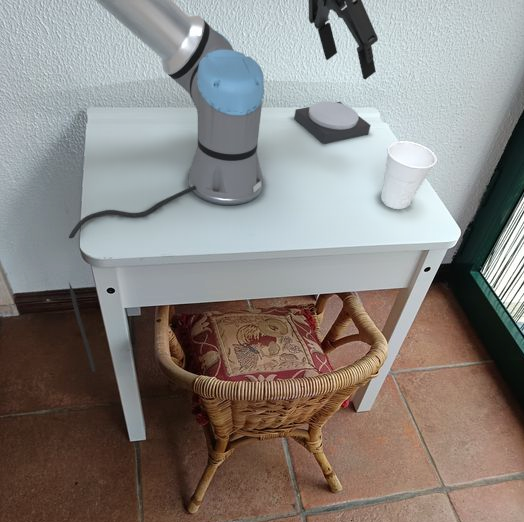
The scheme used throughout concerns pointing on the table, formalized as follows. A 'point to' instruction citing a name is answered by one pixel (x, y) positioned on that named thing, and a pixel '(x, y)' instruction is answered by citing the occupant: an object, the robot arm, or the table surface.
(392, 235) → the table surface
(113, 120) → the table surface
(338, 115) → the scale
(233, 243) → the table surface
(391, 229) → the table surface
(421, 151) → the cup
